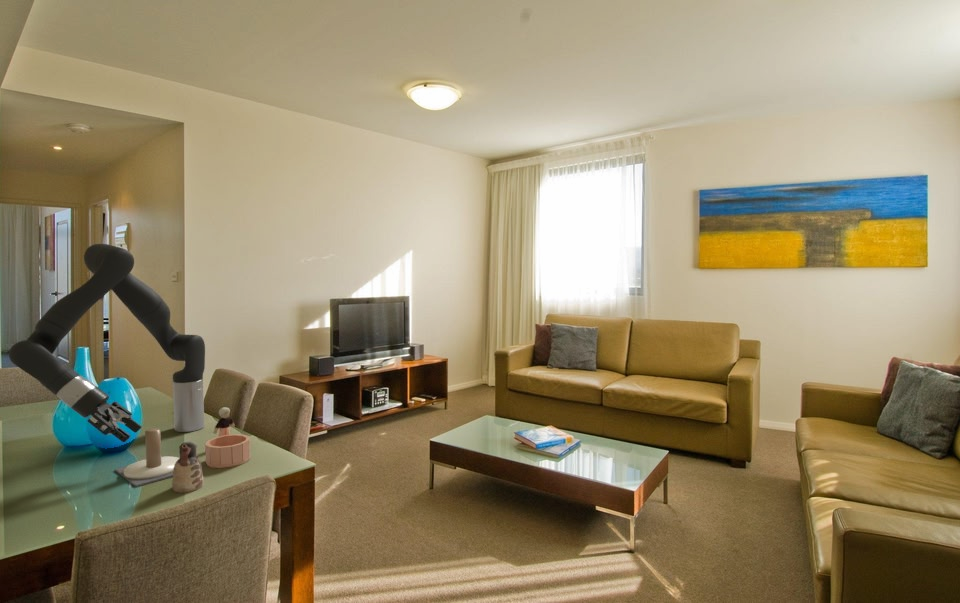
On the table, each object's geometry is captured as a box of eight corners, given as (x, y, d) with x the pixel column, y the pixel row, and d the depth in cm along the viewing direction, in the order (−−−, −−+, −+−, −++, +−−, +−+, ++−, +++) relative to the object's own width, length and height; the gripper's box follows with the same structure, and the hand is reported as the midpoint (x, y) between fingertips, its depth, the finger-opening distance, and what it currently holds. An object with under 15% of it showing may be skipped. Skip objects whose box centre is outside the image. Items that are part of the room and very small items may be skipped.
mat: (115, 470, 146) (114, 468, 146) (169, 456, 157) (169, 455, 157) (135, 487, 135) (135, 485, 135) (193, 471, 146) (193, 469, 146)
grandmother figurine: (222, 450, 162) (221, 410, 161) (211, 450, 163) (210, 410, 162) (238, 442, 169) (237, 404, 168) (228, 441, 170) (227, 403, 169)
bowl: (199, 461, 153) (198, 441, 153) (238, 450, 162) (238, 431, 162) (217, 471, 146) (216, 450, 145) (257, 459, 155) (256, 440, 154)
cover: (116, 469, 145) (115, 431, 144) (171, 456, 156) (170, 420, 155) (133, 483, 136) (132, 442, 135) (190, 468, 147) (189, 429, 146)
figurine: (208, 480, 139) (206, 437, 139) (197, 492, 132) (195, 446, 132) (180, 482, 139) (178, 437, 138) (167, 493, 132) (165, 447, 131)
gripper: (81, 392, 134) (134, 432, 138) (105, 380, 147) (152, 417, 151) (58, 414, 133) (112, 453, 137) (84, 400, 146) (132, 436, 150)
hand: (133, 434), depth 144 cm, fingers open, 8 cm apart
